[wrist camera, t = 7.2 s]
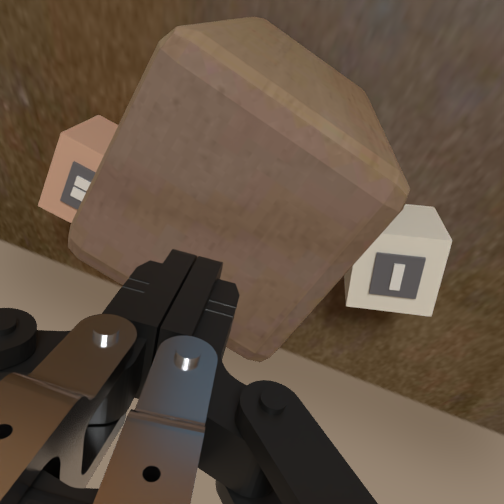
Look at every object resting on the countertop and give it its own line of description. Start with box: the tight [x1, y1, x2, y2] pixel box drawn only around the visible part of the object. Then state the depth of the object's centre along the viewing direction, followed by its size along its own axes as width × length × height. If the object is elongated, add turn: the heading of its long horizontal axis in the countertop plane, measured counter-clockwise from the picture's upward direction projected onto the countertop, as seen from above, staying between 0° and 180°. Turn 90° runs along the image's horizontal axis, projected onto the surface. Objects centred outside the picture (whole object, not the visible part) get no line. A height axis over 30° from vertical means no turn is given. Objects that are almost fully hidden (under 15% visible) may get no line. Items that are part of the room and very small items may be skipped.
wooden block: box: [68, 17, 410, 362], centre depth 26 cm, size 10×10×20 cm
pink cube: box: [38, 115, 118, 223], centre depth 35 cm, size 6×6×6 cm
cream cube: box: [344, 204, 452, 316], centre depth 35 cm, size 6×6×6 cm
